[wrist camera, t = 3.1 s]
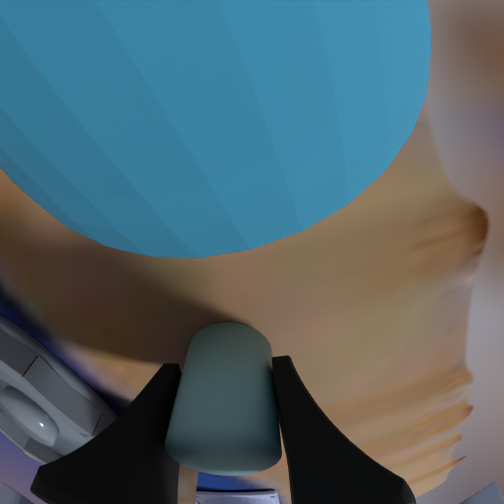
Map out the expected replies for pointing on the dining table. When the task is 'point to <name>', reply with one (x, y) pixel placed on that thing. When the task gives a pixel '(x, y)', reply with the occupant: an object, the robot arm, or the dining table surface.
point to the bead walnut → (187, 485)
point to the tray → (45, 399)
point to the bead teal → (226, 404)
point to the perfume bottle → (205, 113)
